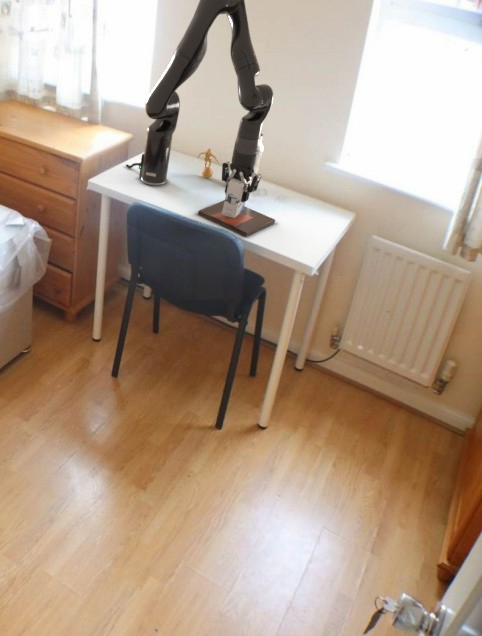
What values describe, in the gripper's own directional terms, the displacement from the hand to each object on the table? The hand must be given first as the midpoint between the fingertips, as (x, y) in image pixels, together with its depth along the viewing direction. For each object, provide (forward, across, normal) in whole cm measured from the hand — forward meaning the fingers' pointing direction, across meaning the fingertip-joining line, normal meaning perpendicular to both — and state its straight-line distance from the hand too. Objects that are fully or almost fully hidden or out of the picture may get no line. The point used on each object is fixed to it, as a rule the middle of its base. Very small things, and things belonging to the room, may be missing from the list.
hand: (235, 198), depth 235 cm
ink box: (+5, 0, 0) cm, 5 cm away
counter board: (+8, 0, +2) cm, 9 cm away
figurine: (+9, -28, +21) cm, 36 cm away
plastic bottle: (+9, -14, +28) cm, 32 cm away
